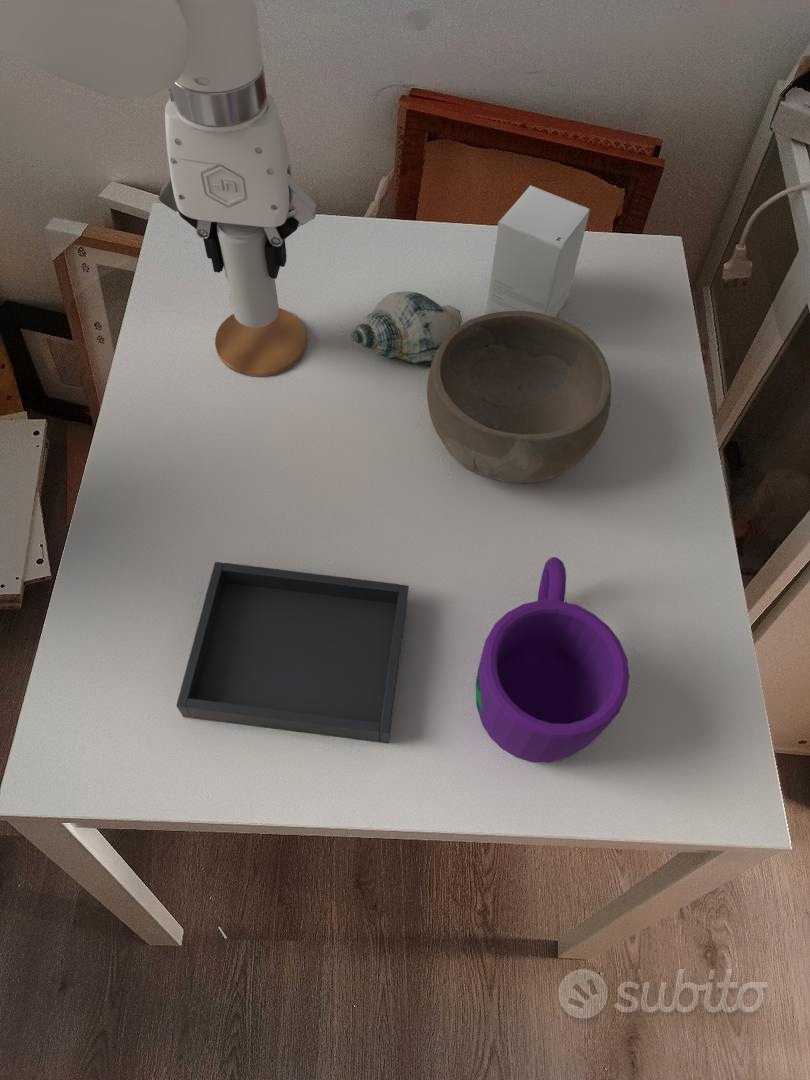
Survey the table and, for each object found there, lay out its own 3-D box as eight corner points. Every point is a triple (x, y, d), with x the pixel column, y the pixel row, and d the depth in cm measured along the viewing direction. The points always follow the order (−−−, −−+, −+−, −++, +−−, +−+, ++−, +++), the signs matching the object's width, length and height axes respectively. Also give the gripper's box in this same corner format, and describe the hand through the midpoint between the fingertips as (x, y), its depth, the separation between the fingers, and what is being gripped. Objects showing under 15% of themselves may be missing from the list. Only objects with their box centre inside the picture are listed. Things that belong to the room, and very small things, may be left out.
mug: (598, 782, 68) (631, 748, 60) (462, 762, 69) (475, 725, 60) (602, 596, 77) (631, 543, 69) (481, 579, 78) (495, 524, 69)
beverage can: (238, 334, 86) (219, 241, 76) (230, 302, 89) (211, 207, 78) (283, 326, 87) (271, 233, 77) (274, 294, 90) (261, 200, 79)
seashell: (458, 374, 92) (350, 366, 92) (462, 309, 93) (355, 301, 93) (463, 356, 86) (348, 347, 86) (467, 286, 87) (353, 278, 86)
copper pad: (206, 371, 89) (205, 367, 89) (227, 305, 94) (226, 301, 94) (297, 381, 89) (297, 377, 88) (314, 314, 94) (313, 310, 93)
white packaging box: (569, 300, 96) (593, 208, 85) (539, 339, 93) (561, 249, 82) (513, 275, 98) (530, 182, 87) (482, 312, 95) (497, 221, 84)
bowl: (452, 354, 92) (460, 285, 83) (609, 399, 89) (634, 332, 80) (400, 475, 83) (403, 412, 75) (571, 528, 81) (595, 469, 72)
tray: (183, 717, 70) (175, 705, 68) (220, 576, 77) (214, 561, 74) (388, 743, 70) (389, 733, 67) (407, 599, 76) (408, 585, 74)
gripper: (101, 104, 65) (154, 283, 81) (315, 127, 64) (326, 302, 80) (128, 51, 69) (174, 231, 84) (331, 72, 68) (339, 249, 84)
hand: (248, 264), depth 82 cm, fingers closed on beverage can, 4 cm apart
